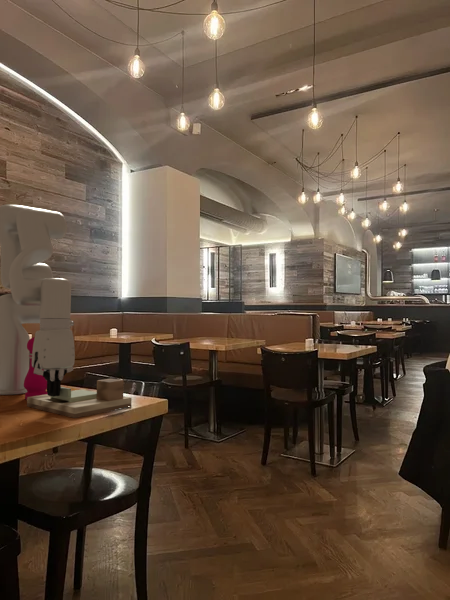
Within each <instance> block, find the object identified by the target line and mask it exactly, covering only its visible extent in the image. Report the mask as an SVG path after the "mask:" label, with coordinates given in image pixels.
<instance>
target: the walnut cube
mask: <svg viewBox="0 0 450 600" xmlns="http://www.w3.org/2000/svg"><path fill="white" fill-rule="evenodd" d="M124 383H125V382H124V379H117V378H107V379H98V380H96V391H97V399H99V400H104V401H113V400H119V399H123V396H124V385H125V384H124Z"/></svg>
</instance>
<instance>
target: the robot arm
mask: <svg viewBox="0 0 450 600" xmlns="http://www.w3.org/2000/svg"><path fill="white" fill-rule="evenodd" d="M67 232H68V224H67V219H66V218H65V216H64V214H62V213H61V212H60V211H55V210H50V209H45V208H39V207H31V206H27V205H21V204H20V205H19V204H8V203H7V204H2V205H0V282H1V285H2V287H4V289H8V290H10V293H7V294H3V295H0V396H1V395H2V396H4V395H5V396H10V395H21V394H25V393H26V392H27V390H26V389H25V388H24V380H25V377H26V375H27V373H28V370H29V367H30V358H28V357H29V353H30V352H29V350H28V349H27V343H28V341H29V340H30V339H31V338H30V335H29V333H28V331H27V330H26V329H25V327H24V326H23V324H39V330H36V331H35V333H36V335H35V334H34V337H35V339H34V344H33V352H32V367H33V368H35V369H34V374H38V375H42V376H43V377H44V378H45V380H47V389H46V391H47V393H48V396H53V397H55V396H59V395H60V390H61V387H62V386H61V385H62V384H61V383H62V382H61V381H62V380H63V379H64V377H65V375H67V374H68V373H71V372H72V371H74V365H75V360H76V359H75V357H76V355H75V351H76V349H75V340H74V339H75V338H74V334H73V330H72V329H71V327H73V326H74V325H75V322H74V320H71V319H72V318H71V313H72V312H71V311H72V310H71V309H72V306H71V304H72V303H71V301H72V283H71V281H70V280H69V279H67V278H61V277H60V278H59V277H54V274H53V271H52V267H51V266H50V265H49V264H46V263H45V262H46V261H47V260H49V259H50V258H51V257H52V255H53V253H54V247H53V243H52V241H51V239H53V240H62V239H63V238H65V237H66V235H67ZM43 262H44V263H43ZM42 369H43V370H44V371H43V370H42Z"/></svg>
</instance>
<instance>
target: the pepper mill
mask: <svg viewBox="0 0 450 600" xmlns="http://www.w3.org/2000/svg"><path fill="white" fill-rule="evenodd" d="M35 335H36V332H35V333H34V336H33V337H31V338H30V340H29V341H28V343H27V349H28V350H29V357H28V358H29V370H28V373H27V375H26V377H25V380H24V388H25V389H26V390H27V392H26V393H24V399H25V400H26V401H27V397H32V396H39V395H46V394H48V393H47V380H45V378H44V377H43V376H42V375H38V374H34V369H35V368H33V367H32V352H33V344H34V339H35ZM42 370H43V369H42ZM43 371H44V370H43Z"/></svg>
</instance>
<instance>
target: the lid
mask: <svg viewBox="0 0 450 600" xmlns="http://www.w3.org/2000/svg"><path fill="white" fill-rule="evenodd" d="M86 390H87V389H86ZM86 390H80V389H76V390H75V391H73V390H72V388H70V387H65V386H61V390H60V395H59V396H55V397H53V396H50V398H51V399H52V398H57V399H62V400H67V401H68V402H75V401H81V400H87V399H93V398H97V392H91V391H92V390H91V391H86Z"/></svg>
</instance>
